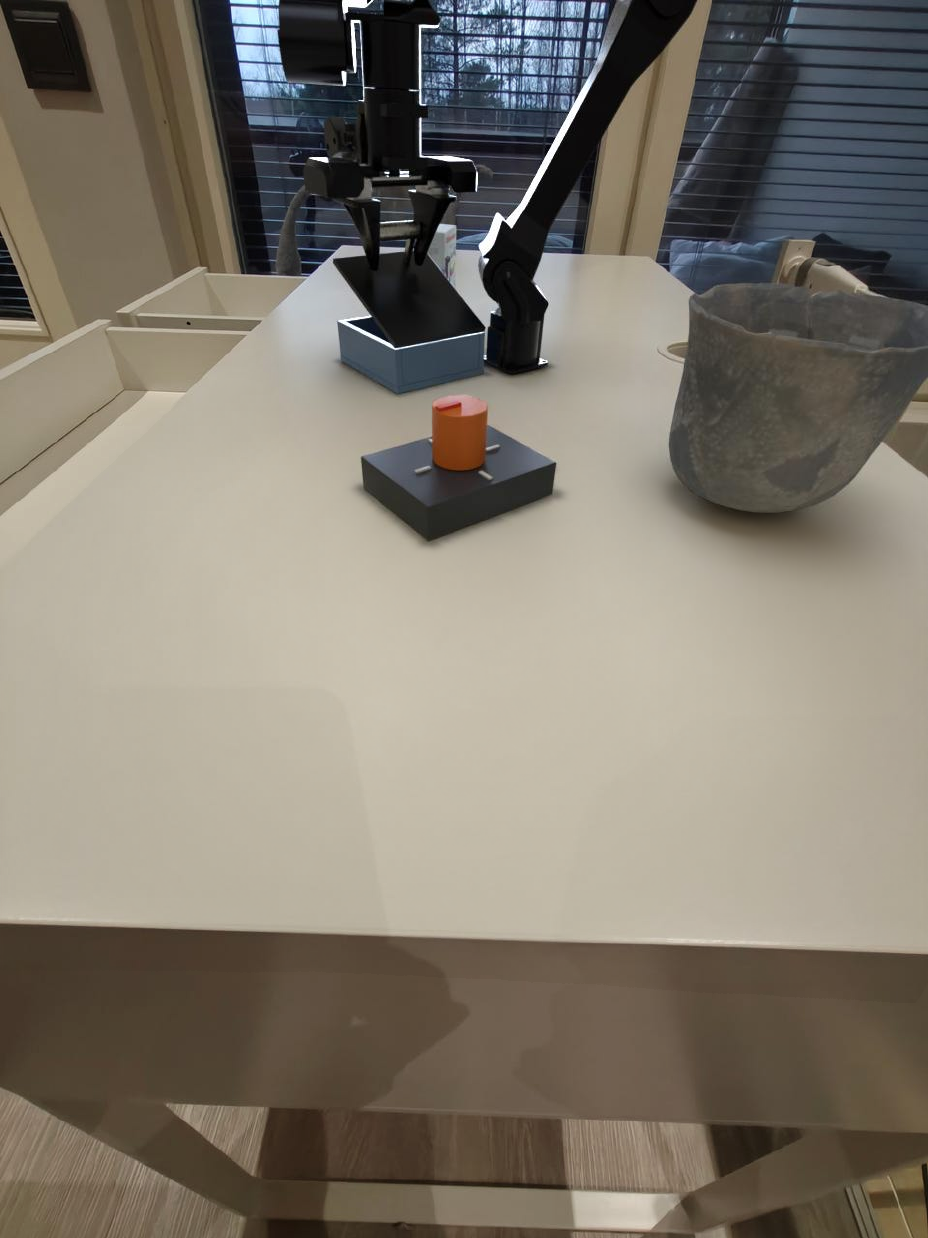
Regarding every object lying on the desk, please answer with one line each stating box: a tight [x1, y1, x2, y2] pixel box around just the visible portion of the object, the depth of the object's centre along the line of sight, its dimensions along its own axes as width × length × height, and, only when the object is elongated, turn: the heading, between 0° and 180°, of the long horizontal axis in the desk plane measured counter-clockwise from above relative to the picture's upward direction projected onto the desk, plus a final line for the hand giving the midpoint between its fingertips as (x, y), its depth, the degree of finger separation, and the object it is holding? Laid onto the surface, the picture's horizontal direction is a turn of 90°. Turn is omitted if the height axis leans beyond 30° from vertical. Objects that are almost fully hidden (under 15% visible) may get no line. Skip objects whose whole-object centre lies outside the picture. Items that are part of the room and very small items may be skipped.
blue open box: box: [336, 315, 486, 395], centre depth 73 cm, size 14×13×5 cm
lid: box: [332, 219, 487, 349], centre depth 67 cm, size 14×13×5 cm
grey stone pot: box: [668, 282, 928, 513], centre depth 47 cm, size 18×18×15 cm
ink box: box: [427, 223, 457, 290], centre depth 90 cm, size 9×5×12 cm, turn 168°
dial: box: [431, 394, 489, 471], centre depth 48 cm, size 4×4×5 cm
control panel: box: [360, 424, 557, 542], centre depth 50 cm, size 13×10×3 cm
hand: (396, 267), depth 69 cm, fingers closed on lid, 6 cm apart
